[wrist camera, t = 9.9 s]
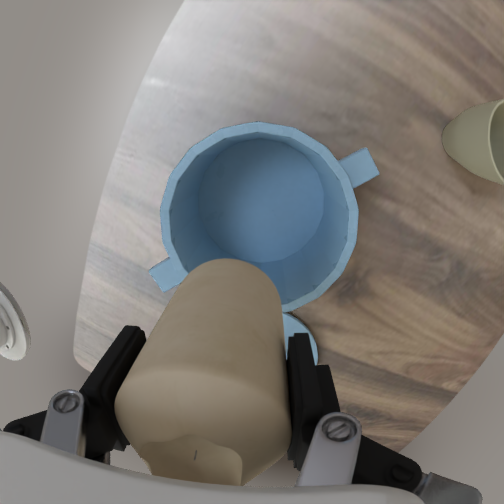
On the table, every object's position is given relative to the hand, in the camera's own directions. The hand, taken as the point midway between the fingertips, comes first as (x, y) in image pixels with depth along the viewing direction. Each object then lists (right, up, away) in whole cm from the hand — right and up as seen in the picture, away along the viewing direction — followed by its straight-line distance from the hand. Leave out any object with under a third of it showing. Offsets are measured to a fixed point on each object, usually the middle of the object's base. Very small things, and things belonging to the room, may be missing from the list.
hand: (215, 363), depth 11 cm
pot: (+2, +10, +23) cm, 25 cm away
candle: (0, +2, +5) cm, 5 cm away
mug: (+28, +19, +19) cm, 39 cm away
